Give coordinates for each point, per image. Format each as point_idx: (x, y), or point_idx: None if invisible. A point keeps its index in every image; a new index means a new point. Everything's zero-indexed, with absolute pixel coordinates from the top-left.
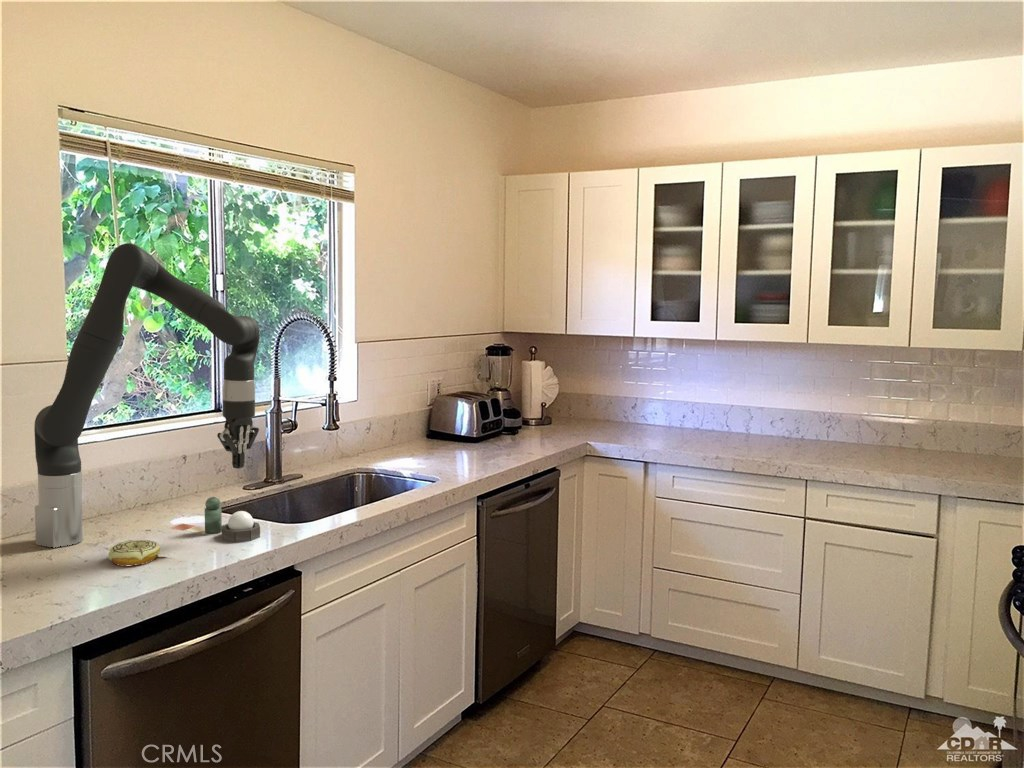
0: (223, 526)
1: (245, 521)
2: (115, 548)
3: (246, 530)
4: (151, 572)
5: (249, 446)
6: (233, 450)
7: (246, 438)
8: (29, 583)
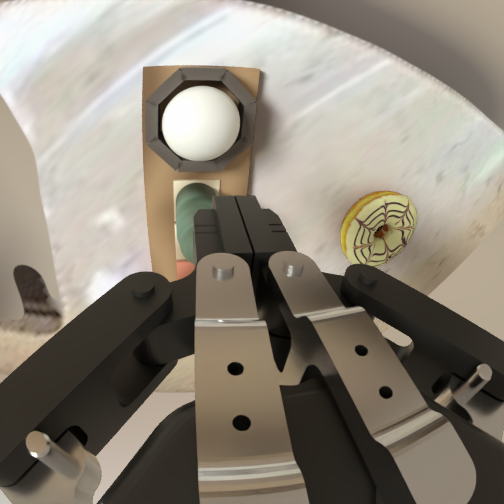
0: (223, 162)
1: (221, 95)
2: (401, 250)
3: (231, 80)
4: (422, 156)
5: (152, 287)
6: (386, 274)
7: (250, 367)
8: (452, 258)
